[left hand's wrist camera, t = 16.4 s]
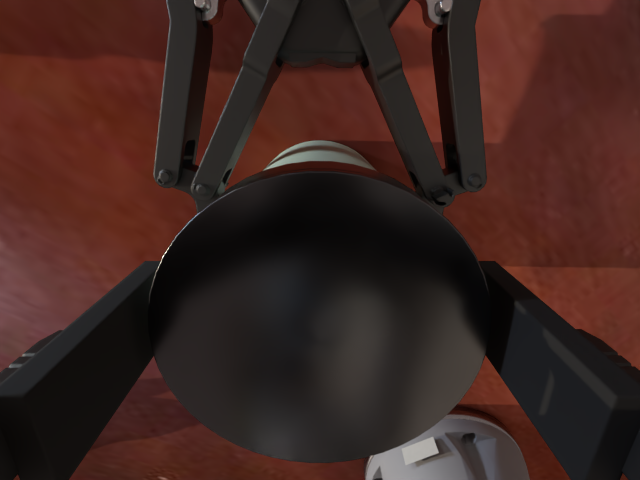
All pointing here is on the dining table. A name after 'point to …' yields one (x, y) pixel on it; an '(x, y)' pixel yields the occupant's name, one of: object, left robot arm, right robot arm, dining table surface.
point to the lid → (319, 314)
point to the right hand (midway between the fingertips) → (318, 301)
